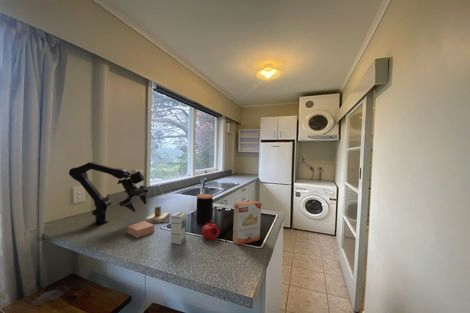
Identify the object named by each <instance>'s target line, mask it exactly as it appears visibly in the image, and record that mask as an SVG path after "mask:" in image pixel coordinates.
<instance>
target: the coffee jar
mask: <svg viewBox="0 0 470 313" xmlns="http://www.w3.org/2000/svg"><path fill="white" fill-rule="evenodd" d="M213 197H214V195H213V194H212V193H211V194H210V193H199V194H197V195H196V212H195V213H196V214H195V215H196V216H195V217H196V219H195V222H196V223H197V225H201V226H205V224H206V225H207V224H208V223H209V224H210V221H212V222H213V212H214V210H213V207H214V206H213V205H214V199H213Z"/></svg>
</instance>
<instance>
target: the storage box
mask: <svg viewBox="0 0 470 313" xmlns="http://www.w3.org/2000/svg"><path fill="white" fill-rule="evenodd" d="M154 232H155V224H151V223H148V222H146V221H144V220H143V221H140V222H136V223H133V224H130V225H128V226H127V234H130V235H131V236H133V237H134V238H136V239H138V238H141V237H143V236H146V235H150V234H152V233H154Z"/></svg>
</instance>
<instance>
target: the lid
mask: <svg viewBox="0 0 470 313" xmlns="http://www.w3.org/2000/svg"><path fill="white" fill-rule="evenodd" d="M161 210H162V206H161V205H157V206H154V212H152V213H151V212H150V214H148V215H149V216H148V217H147V218H146V217H145V218H146V221H150V222H164V221H165V219H166V218H167V217H168V216H169V214H170V213H169V212H162V211H161Z"/></svg>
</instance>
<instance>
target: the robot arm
mask: <svg viewBox="0 0 470 313" xmlns="http://www.w3.org/2000/svg"><path fill="white" fill-rule="evenodd" d="M90 170H93V171H97V172H100V173H104V174H105V173H106V174H108V175H110V176H112V177H114V178H116V179H118V181H117V183H116V184H117V185H119V184H121V186H122V187H123V190H124V193H126V194H127V197H126V198H124V199H122V200H121V201H119V206H120V207H125V208H127V209H129V210H130V211H132V212H133V213H136V212H137V211H136V209H135V208H134V206H133V202H132V200H134V199H136V198H137V197H139V198H140V200H141V201H142V203H143V204H144V205H145V206H146V205H147V194H148V192H149V190H148V188H146V187H145V185H140V186H139V187H137V186H136V185H137V184H139V183H141V182H143V181H145V175H144V174H143V173H141V171H140V170H138V171H136V172H135V173H131V172H129V171H128V170H127V169H126V168H119V167H118V168H116V167H111V166H107V165H103V164H100V163H97V162H94V161H93V162H92V161H90V162H87V163H85V164H83V165H80V166H77V167H72V168H70V169H69V171H68V175H69V176H70V177H71V178H72V179H73V180H75V181H76V182H78V183H79V184H80V185H81V186H82V187H83V189H84V190H85V191H86V193H87V194H88V195H89V196H90V198H91V199H92V200H93V203H94V207H95V209H94V210H93V211H92V212H91V213H92V216H94V221H92V223H93V224H94V225H95V226H99V225H103V224H106V223H109V221H108V220H107V212H108V210H109V209H110V208H111V207H112V203H111V202H112V200H110V199H109V197H108V196H105V197H104V196H102V194H101V193H100V191H98V189H97V188H96V186H95V185H94V184H93V182H92V181H90V179H89V176H88V172H89V171H90ZM134 184H135V185H134Z"/></svg>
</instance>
